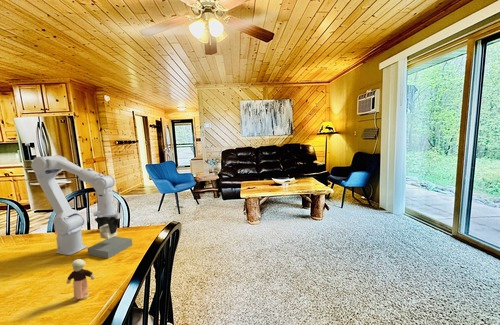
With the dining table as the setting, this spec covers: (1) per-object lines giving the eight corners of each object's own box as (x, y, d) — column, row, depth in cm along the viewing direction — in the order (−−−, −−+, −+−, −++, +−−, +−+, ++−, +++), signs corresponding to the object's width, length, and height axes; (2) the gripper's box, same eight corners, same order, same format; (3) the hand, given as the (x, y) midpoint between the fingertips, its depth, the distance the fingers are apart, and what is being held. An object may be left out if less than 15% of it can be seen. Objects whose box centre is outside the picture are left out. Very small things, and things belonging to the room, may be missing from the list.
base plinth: (88, 254, 93) (87, 248, 92) (113, 241, 104) (112, 235, 104) (108, 258, 89) (107, 251, 89) (132, 244, 100) (131, 238, 100)
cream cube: (100, 237, 94) (99, 227, 93) (110, 233, 98) (108, 223, 98) (108, 239, 93) (106, 228, 92) (117, 234, 97) (116, 224, 96)
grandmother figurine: (64, 305, 64) (59, 266, 62) (69, 297, 67) (64, 259, 66) (95, 297, 67) (91, 259, 65) (98, 289, 70) (94, 253, 69)
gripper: (85, 204, 93) (88, 234, 94) (109, 207, 88) (113, 238, 90) (100, 200, 99) (104, 227, 101) (124, 202, 95) (127, 231, 96)
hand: (109, 232), depth 96 cm, fingers closed on cream cube, 4 cm apart
